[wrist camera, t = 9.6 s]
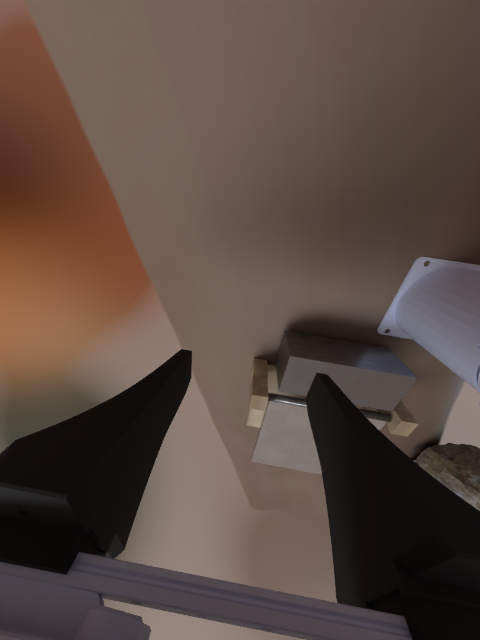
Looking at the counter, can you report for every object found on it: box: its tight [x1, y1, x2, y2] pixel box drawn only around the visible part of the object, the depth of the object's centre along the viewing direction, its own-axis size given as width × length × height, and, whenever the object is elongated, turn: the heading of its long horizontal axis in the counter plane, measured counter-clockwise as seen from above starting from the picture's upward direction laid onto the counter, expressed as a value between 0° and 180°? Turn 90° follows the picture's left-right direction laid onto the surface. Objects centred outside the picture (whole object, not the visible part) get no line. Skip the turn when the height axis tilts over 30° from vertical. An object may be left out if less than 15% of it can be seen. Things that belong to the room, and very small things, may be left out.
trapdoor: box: [251, 330, 417, 474], centre depth 23 cm, size 12×18×4 cm
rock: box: [413, 443, 480, 510], centre depth 26 cm, size 11×6×10 cm
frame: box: [247, 358, 418, 436], centre depth 24 cm, size 16×12×6 cm
